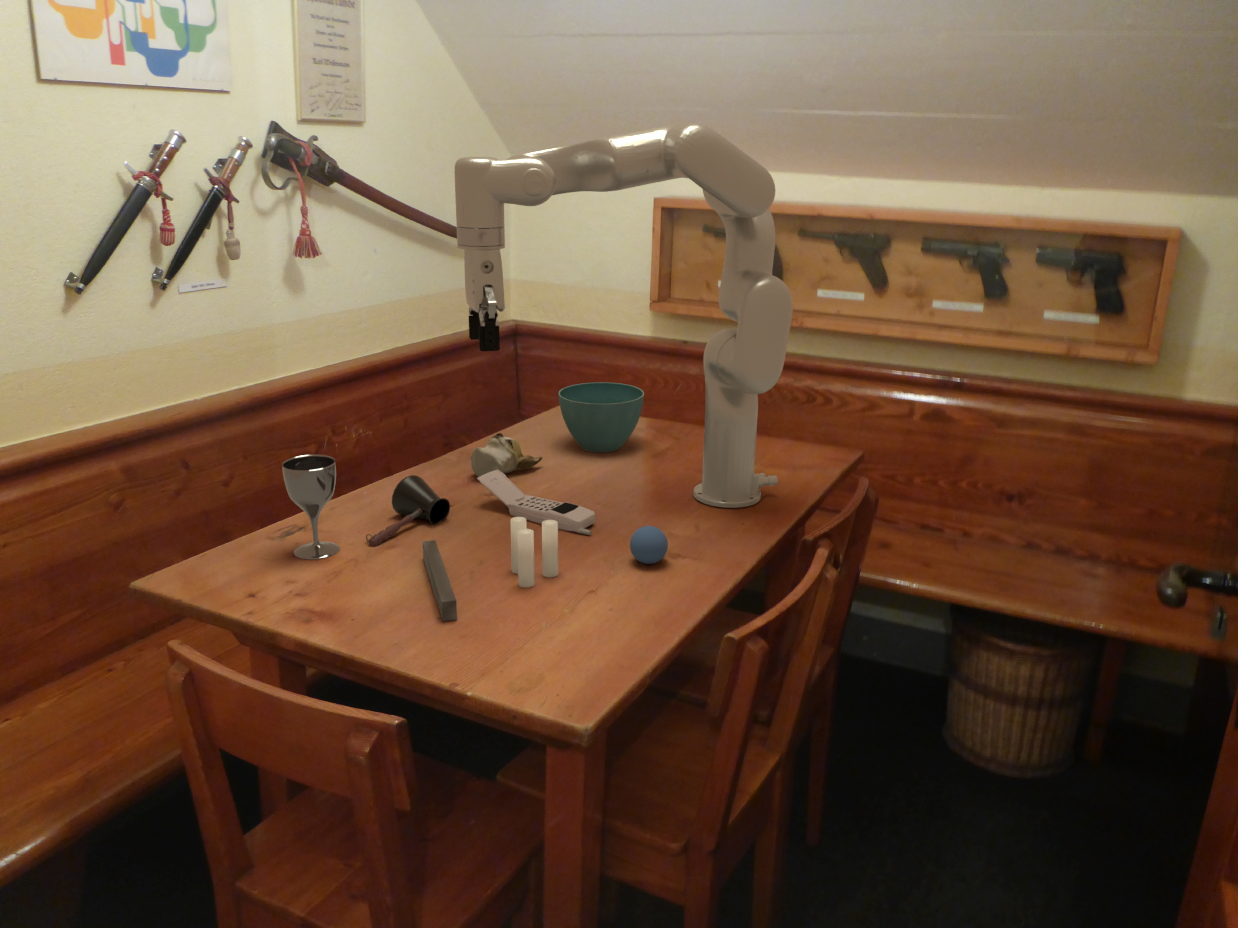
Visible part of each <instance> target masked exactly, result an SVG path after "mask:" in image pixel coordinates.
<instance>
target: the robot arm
mask: <svg viewBox="0 0 1238 928" xmlns="http://www.w3.org/2000/svg"><path fill="white" fill-rule="evenodd" d="M682 178H683V179H688V180H691V182H693V183H694V184H696V186H698V187H700V188H701V189H702V194H703V197H704V199H705V202H706V203H707V204H708V206H709V207H710V208H711V209H712V210H713V211H715V212H716V214H718V216H719V218H720V219H721V221H722V223H723V226H724V230H725V251H724V258H723V259H724V260H723V266H722V272H721V273H722V274H721V279H720V284H719V292H718V306H719V309H720V311H721V312H722V313H723V315H724V316H725V317H726V318H728V319H729V320H731V321H734V322H736V323H737V328H733V327H732V328H731V327H730V328H729V327H727V328H723V329H720V330H718V331H717V332H715V333H714V334H713V335H712V336H711V337H710V338H709V339H708V341H707V343H706V345H705V348H704V351H703V357H702V358H703V374H704V381H705V382H704V385H705V413H704V429H703V430H704V432H703V433H704V434H703V455H702V456H703V457H702V481H701V482H700V483H698V484H697V485H695V486H694V488H693V497H694V498H695V499H696V501H699V502H701V503H703V504H704V505H707V506H711V507H716V508H718V507H719V508H724V509H725V508H727V509H737V508H739V509H740V508H746V507H750V506H753V505H756V504H757V503H759V502H760V501H761V498H762V491H761V490H760V489H763V487H764V486H765V487H766V486H767V487H772V486H777V485H778V480H779V479H778V477H777V475H776V474H774V475H766V474H765V473H764V472H760V473H759V472H758V473H756V472H755V461H756V460H755V459H756V448H757V447H756V446H757V445H756V444H757V428H758V427H757V426H758V414H759V396H758V395H761V394H764V393H767V392H768V391H770V390H771V389H772V388H773V387H774V386H776V384H777V383H778V381H779V379H780V376H781V375H782V372H783V369H784V365H785V361H786V355H787V354H786V353H787V349H788V343H789V338H790V331H791V326H792V321H793V320H792V319H793V309H794V306H793V305H794V304H793V297H792V294H791V292H790V289H789V287H788V286H787V284H786V283H785V282H784V281H783V280H782V279H780V278H779V277H777V276H775V275H773V266H774V258H775V257H774V256H775V250H776V226H775V220H774V217H773V214H772V212H771V209H770V208H771V206H772V205H773V202H774V200H775V197H776V185H775V180H774V179H773V176H772V175H771V173H770V172H769V171H768V169H767V168H765V167H764V166H763V165H762V164H761V163H760V162H758V161H757V160H755V159H754V158H753V157H751V156H750V155H748V154H747V153H745V151H743V150H742V149H740V148H739V147H738V146H736V145H735V144H734V143H732V142H731V141H730V140H728V139H727V138H725V137H724V136H723V135H722V134H721V133H719V132H717V131H716V130H714V129H713V128H711V127H709V126H708V125H706V124H702V123H699V122H698V123H695V122H693V123H690V122H688V123H687V122H685V123H684V122H683V123H673V124H668V125H667V124H666V125H662V126H655V127H652V128H651V127H650V128H646V129H641V130H637V131H631V132H625V133H620V134H619V133H618V134H615V135H609V136H604V137H603V136H602V137H599V138H594V139H590V140H585V141H582V142H578V143H573V144H569V145H568V144H567V145H564V146H558V147H553V148H547V149H541V150H536V151H531V152H526V153H519V154H515V155H512V156H510V157H508V158H506V159H499V158H496V157H491V156H490V157H489V156H463V157H460V158H458V159H457V160H456V162H455V163H454V193H455V195H454V196H455V216H456V217H455V219H456V221H455V222H456V245H457V249H460V250H464V251H463V252H464V254H463V255H464V256H463V258H464V261H463V262H464V287H465V290H464V291H465V299H466V304H467V305H468V314H469V315H468V333H469V334H468V335H469V336H468V337H469V339H470V340H473V341H475V340H478V344H479V345H478V347H479V348H478V349H479V350H480V352H483V353H484V352H496V351H497V352H498V351H499V350H500V349H501V345H500V344H501V343H500V342H501V341H500V338H501V337H500V322H499V314H498V311H499V312H500V313H501V312H504V311H505V308H506V306H505V305H506V304H505V303H506V302H505V288H504V287H505V286H504V272H503V262H502V255H501V250H502V249H505V248H506V245H505V244H506V239H505V238H506V235H505V204H510V205H516V206H523V207H536V206H540V205H542V204H544V203H546V202H547V201H548V200H550V198H552V196H556V195H561V194H569V193H577V192H599V193H601V192H604V193H605V192H606V193H607V192H616V191H622V190H626V189H631V188H636V187H640V186H646V185H650V184H655V183H661V182H666V181H669V180H676V179H682Z"/></svg>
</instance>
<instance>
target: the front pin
mask: <svg viewBox="0 0 1238 928" xmlns="http://www.w3.org/2000/svg"><path fill="white" fill-rule="evenodd" d="M558 532H559V529H558V522H557V521H555V520H545V521H543V522H542V524H541V548H542V550H541V553H542V554H541V555H542V559H541V560H542V562H541V565H542V566H541V567H542V568H541V569H542V571H541V573H542V577H546V578H555V577H557V576H559V533H558Z"/></svg>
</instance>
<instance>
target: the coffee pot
mask: <svg viewBox="0 0 1238 928" xmlns="http://www.w3.org/2000/svg"><path fill="white" fill-rule="evenodd" d="M391 506H392V509H393V510H394V512H395V513H397V514H399V515H401V516H404V517H403V518H402V519H401V520H399V521H397V522H395V523H393V524H391V525H389V526H387V527H386V528H385V529H383V530H380V531H379V532H378V533H375V534H373V535H372V534H370V533H367V534H366V536H365V539H366V542H367V543H368V545H369V546H371V547H377V546H379V545H380V544H382V543H384V542H385V541H386V540H388V539H389V537H393V536H394V535H395V534H397V532H398V531H399V530H400V529H401V528H402V527H404V526H406V525H408V524H410V523H412V522H413V520H414V519H415V518H418V519H424V520H428V521H429V523H430V524H431V525H433V526H434V525H436V524H439V523H443V522H444V521H445V520H447V518H448V516H449V513H450V511H451V504H450V501H449V500H448V499H447V498H445V497H444V498H443V497H440V496H439V495H438V494H437V493H436V492H435V490H434V489H433V488H432V487H430V485H429V484H428V483H427V482H426V481H425V480H424V478H422V477H420V475H415V474H411V475H408V476H406V477H404V478H403V479H401V480H400V481H399V482H398V484H396V486H395V488H394V489H393V493H392V496H391ZM368 536H369V537H370V538H369V539H368Z"/></svg>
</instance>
